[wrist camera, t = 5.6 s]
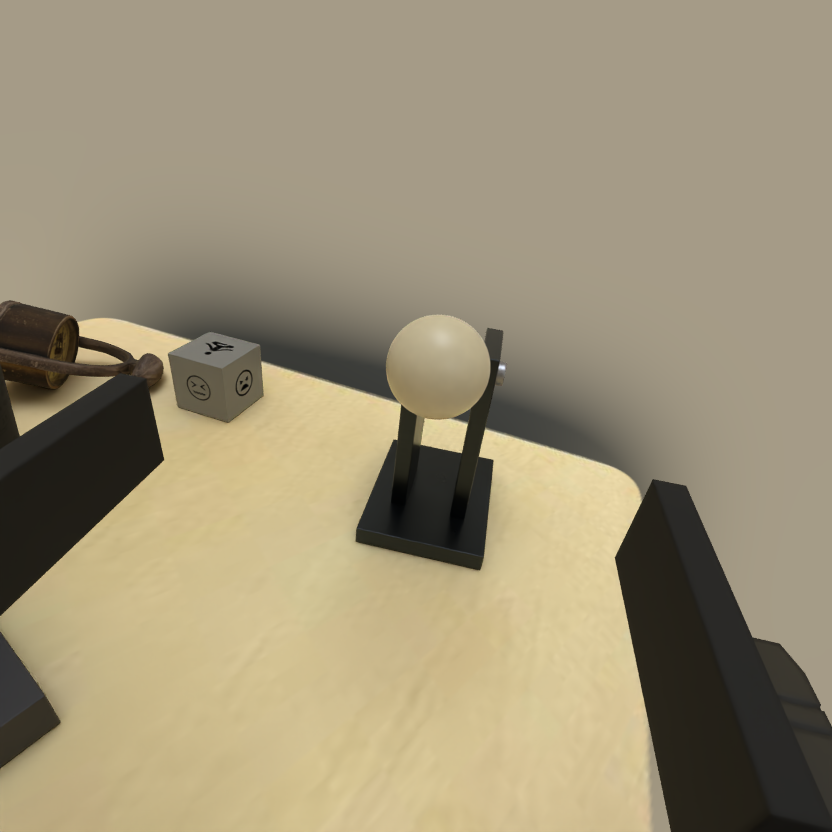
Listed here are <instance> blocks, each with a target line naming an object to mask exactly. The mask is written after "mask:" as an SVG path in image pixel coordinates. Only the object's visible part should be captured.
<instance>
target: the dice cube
mask: <svg viewBox="0 0 832 832" xmlns="http://www.w3.org/2000/svg"><path fill="white" fill-rule="evenodd" d="M260 354H261V353H260V345H258V344H255V343H250V342H247V341H243V340H239V339H236V338H232V337H228V336H224V335H220V334H217V333H213V332H209V333H207V334H205V335H203V336H201V337H199V338H197V339H195V340H193V341H191V342H189V343H187V344H185V345H183V346H181V347H179V348H177V349H176V350H174V351H172V352H170V353H168V357H169V362H170V368H171V373H172V378H173V384H174V389H175V395H176V400H177V405H178V407H180V408H183V409H186V410H189V411H193V412H196V413H199V414H202V415H206V416H209V417H212V418H215V419H218V420H222V421H225V422H230V421H231V420H232V419H234V418H235V417H236V416H238V415H239V414H240V413H241V412H243V411H244V410H245V409H247V408H248V407H249V406H250V405H252V404H253V403H254V402H256V401H257V400H258V399H259V398H261V397H262V396H263V381H262V367H261V355H260Z"/></svg>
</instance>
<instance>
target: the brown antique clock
mask: <svg viewBox="0 0 832 832" xmlns="http://www.w3.org/2000/svg"><path fill="white" fill-rule="evenodd" d="M78 347H82V348H86V349H91V350H95V351H99V352H103V353H106V354H109V355H111V356H113V357H116V358H118V359H119V360H121V361H123V363H121V364H116V365H87V364H79V363H75V360H76V356H77V352H78ZM0 365H1V369H2V372H3V376H4V380H9V381H16V382H21V383H26V384H31V385H36V386H41V387H46V388H50V389H56V388H59V387H60V386H61V385H62V384H63V383H64V382H65V381H66V379H67V378H68V376H69V375H79V376H92V377H110V376H116V375H118V374H120V373H121V374H127V375H131V376H137V377H142V378H146V379H147V384H148V387H149V386H152V385H154V384H155V383H156V382H157V381H158V380H159V379H160V378H161V376H162V374H163V369H164V368H163V362H162V361H161V360H160V359H159V358H158V357H156V356H155V355H153V354H148V353H147V354H145V355H143V356H142V357H141V358H140V360H136V359H134V358H133V356H132V355H131V354H130V353H129V352H127V351H125V350H123V349H121V348H119V347H116V346H114V345H111V344H108V343H105V342H102V341H98V340H94V339H89V338H85V337H81V336H79V326H78V323H77V321H76V319H75V318H74V317H73V316H70V315H66V314H63V313H59V312H54V311H51V310H46V309H42V308H38V307H33V306H30V305H26V304H22V303H20V302H15V301H5V302H3V303H1V304H0Z"/></svg>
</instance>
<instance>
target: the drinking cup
mask: <svg viewBox="0 0 832 832" xmlns="http://www.w3.org/2000/svg"><path fill="white" fill-rule="evenodd" d="M18 437H20V436H19V432H18V428H17V424H16V421H15V417H14V413H13V410H12V406H11V402H10V398H9V395H8V391H7V387H6V383H5V380H4V376H3V372H2V369H1V365H0V449H1V448H3V447H4V446H6V445H7V444H9V443H10V442H12V441H14V440H15V439H17V438H18Z"/></svg>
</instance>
